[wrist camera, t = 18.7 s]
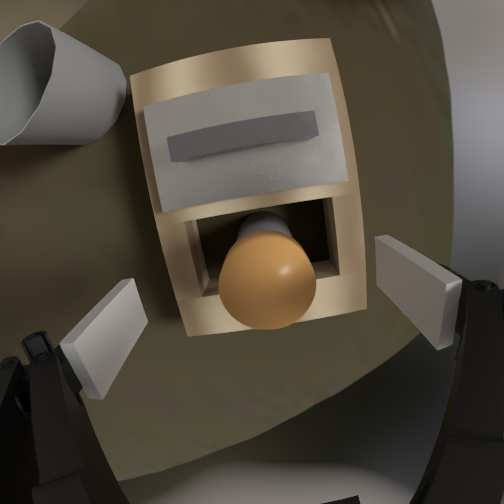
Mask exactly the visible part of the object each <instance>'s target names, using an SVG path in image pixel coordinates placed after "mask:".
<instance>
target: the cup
mask: <svg viewBox="0 0 504 504" xmlns="http://www.w3.org/2000/svg"><path fill="white" fill-rule="evenodd" d="M125 96H126V79H125V77H124V75H123V72H122V70H121V68H120V65H118V64H116V63H115V62H113V61H112V60H110V59H108V58H107V57H105V56H103V55H102V54H100V53H98V52H97V51H95V50H93V49H91V48H90V47H88V46H86V45H85V44H83V43H81V42H79V41H77V40H76V39H74V38H72V37H70V36H68V35H67V34H65V33H63V32H61V31H59V30H57V29H55V28H53V27H51V26H50V25H48V24H46V23H43V22H42V21H40V20H37V21H34V22H30V23H27V24H24V25H21V26H20V27H18V28H17V29H16V30H15V31H13V32H12V33H11V34H10V35H9V36H7V37H6V38H5V39H4V40H3V41H2V42H1V44H0V145H86V144H88V143H90V142H93V141H95V140H97V139H99V138H101V137H102V136H103V135H104V134H105V133H106V132H107V131H108V130H109V129H110V128H111V127H112V126H113V125H114V124H115V123H116V121H117V119H118V116H119V114H120V112H121V110H122V107H123V105H124V103H125Z"/></svg>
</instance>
